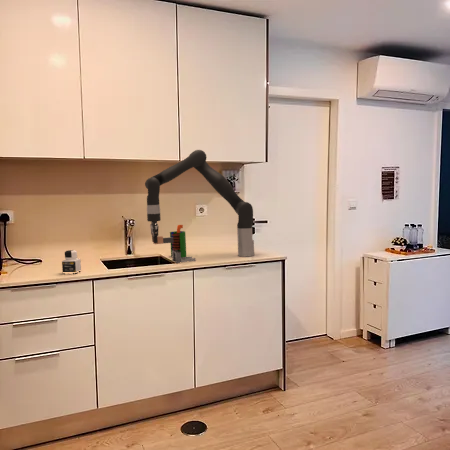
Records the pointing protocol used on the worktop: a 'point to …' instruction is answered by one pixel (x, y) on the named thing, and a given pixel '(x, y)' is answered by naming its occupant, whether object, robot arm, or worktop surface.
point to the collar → (177, 257)
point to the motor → (179, 241)
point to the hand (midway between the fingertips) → (155, 242)
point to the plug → (163, 240)
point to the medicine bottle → (71, 262)
